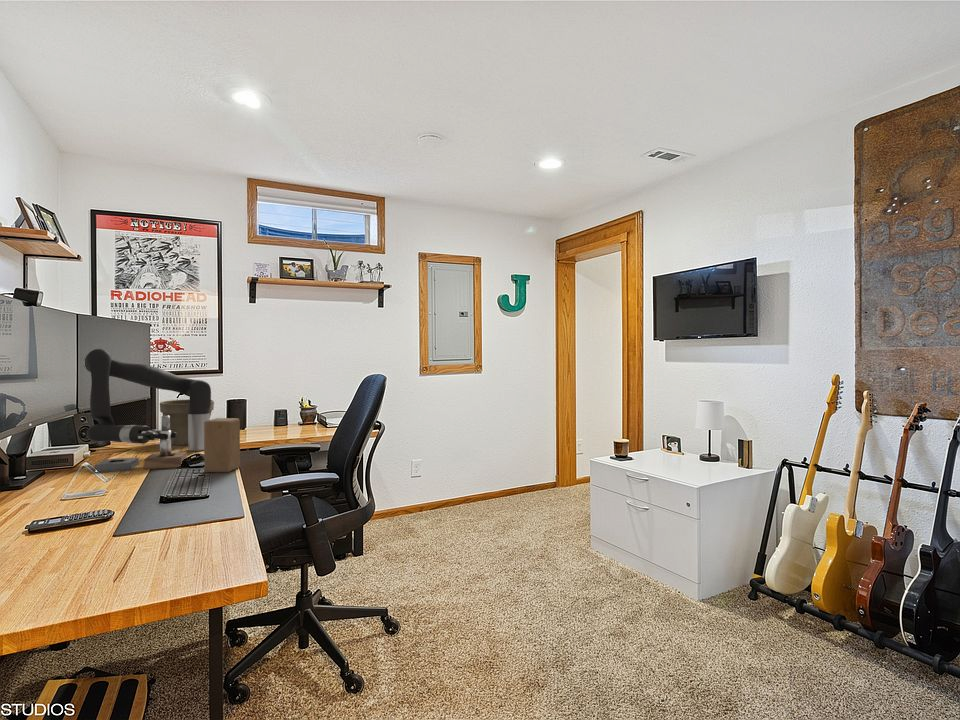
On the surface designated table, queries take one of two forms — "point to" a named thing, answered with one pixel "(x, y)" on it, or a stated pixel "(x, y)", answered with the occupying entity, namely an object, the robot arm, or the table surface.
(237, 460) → the wooden block
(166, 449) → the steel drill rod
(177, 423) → the plant pot
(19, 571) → the table surface
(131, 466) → the grey socket
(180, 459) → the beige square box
